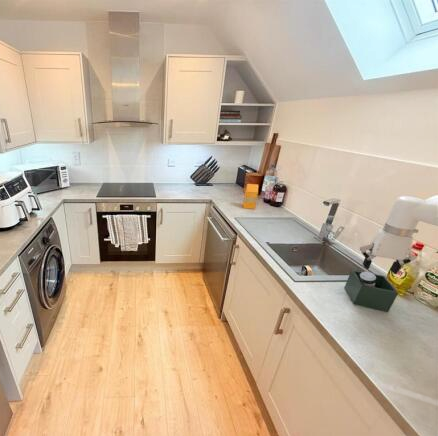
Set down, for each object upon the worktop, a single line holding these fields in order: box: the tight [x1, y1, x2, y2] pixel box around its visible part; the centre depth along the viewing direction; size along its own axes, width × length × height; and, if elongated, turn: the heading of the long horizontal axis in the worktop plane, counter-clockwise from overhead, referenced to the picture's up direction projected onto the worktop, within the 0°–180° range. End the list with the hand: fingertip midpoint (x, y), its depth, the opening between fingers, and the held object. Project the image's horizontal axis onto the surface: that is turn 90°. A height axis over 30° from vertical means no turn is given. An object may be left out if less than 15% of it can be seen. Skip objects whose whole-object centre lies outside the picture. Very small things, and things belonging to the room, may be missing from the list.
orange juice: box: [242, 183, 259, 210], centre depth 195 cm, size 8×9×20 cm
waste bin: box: [343, 269, 399, 313], centre depth 97 cm, size 11×11×10 cm
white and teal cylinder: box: [360, 270, 376, 287], centre depth 96 cm, size 5×5×12 cm
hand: (379, 269), depth 93 cm, fingers open, 8 cm apart
